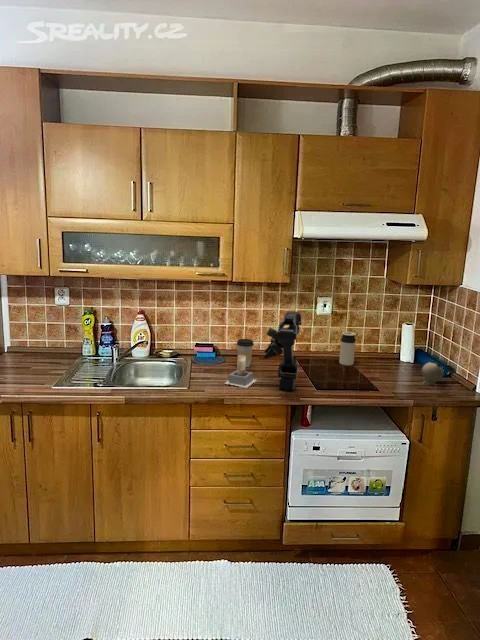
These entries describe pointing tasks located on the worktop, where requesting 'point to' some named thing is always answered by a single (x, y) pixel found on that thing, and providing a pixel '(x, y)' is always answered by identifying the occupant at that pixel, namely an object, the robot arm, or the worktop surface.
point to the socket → (241, 379)
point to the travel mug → (347, 348)
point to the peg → (241, 365)
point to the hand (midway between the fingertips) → (264, 355)
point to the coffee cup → (245, 349)
